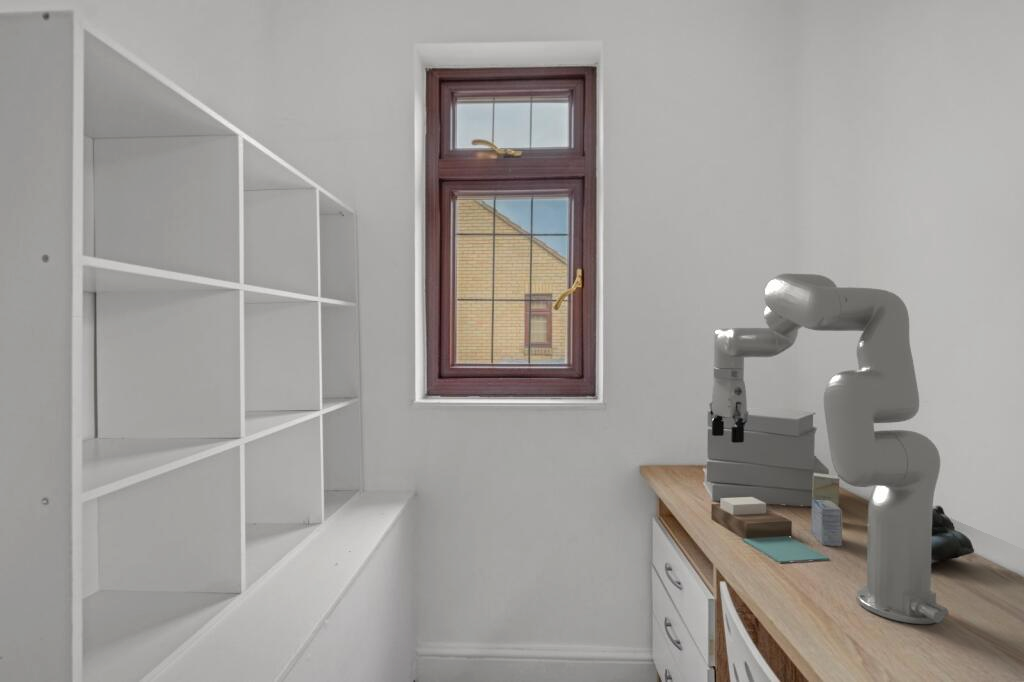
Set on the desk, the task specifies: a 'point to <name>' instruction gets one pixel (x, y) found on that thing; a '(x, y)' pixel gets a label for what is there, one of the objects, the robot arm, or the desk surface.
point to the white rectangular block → (743, 505)
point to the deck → (753, 523)
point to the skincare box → (826, 487)
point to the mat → (784, 549)
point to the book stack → (764, 458)
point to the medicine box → (827, 522)
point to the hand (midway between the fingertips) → (727, 438)
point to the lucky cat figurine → (947, 538)
